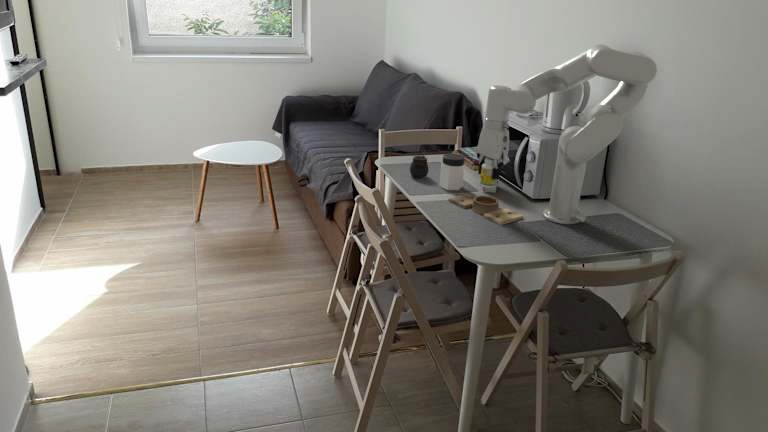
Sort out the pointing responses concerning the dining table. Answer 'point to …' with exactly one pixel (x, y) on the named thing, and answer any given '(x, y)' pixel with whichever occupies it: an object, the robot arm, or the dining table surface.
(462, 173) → the jar
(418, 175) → the mate gourd
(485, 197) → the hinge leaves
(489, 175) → the supplement bottle
